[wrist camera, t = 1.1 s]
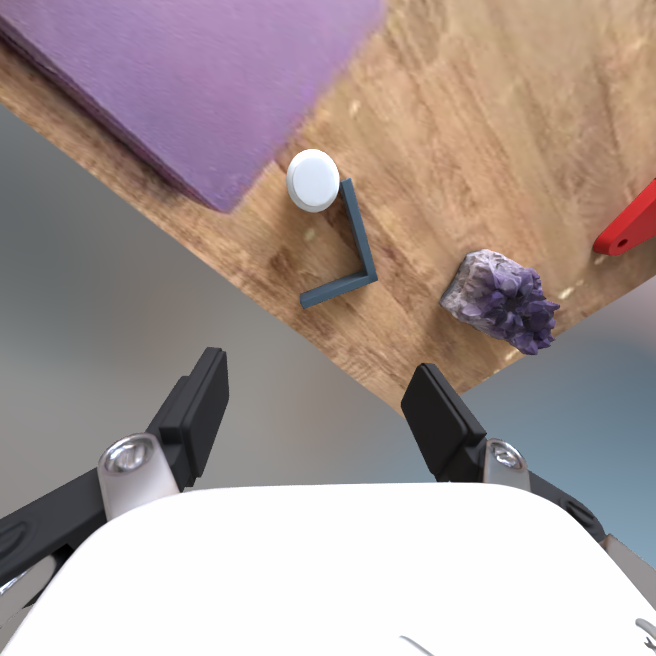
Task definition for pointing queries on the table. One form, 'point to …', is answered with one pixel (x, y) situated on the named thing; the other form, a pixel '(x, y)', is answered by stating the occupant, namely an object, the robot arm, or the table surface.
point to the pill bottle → (312, 181)
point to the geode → (502, 301)
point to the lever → (630, 225)
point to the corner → (363, 249)
